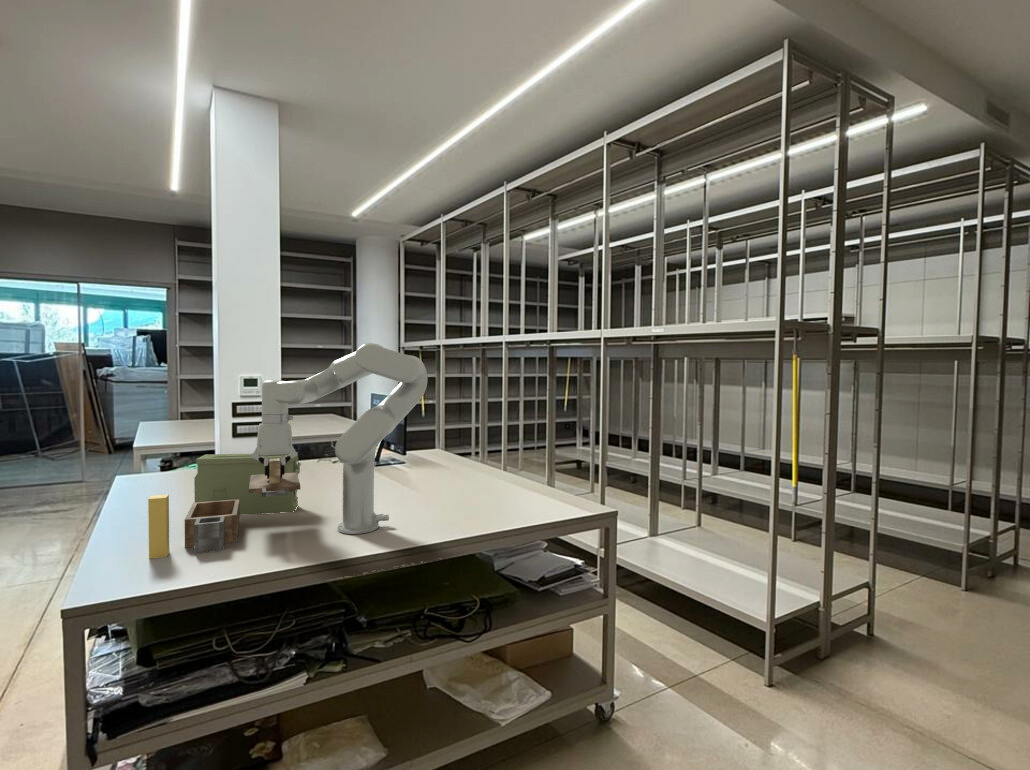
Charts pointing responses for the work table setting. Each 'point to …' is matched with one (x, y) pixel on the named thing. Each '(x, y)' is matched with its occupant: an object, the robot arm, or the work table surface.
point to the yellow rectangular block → (158, 526)
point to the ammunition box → (240, 482)
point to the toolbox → (212, 525)
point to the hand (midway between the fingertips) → (274, 476)
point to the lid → (274, 481)
